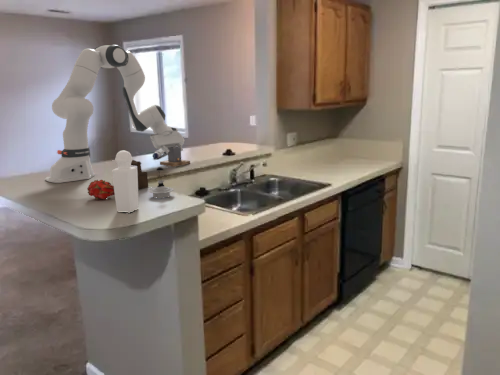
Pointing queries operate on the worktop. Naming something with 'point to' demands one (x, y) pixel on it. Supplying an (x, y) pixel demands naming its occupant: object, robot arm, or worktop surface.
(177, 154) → the dark grey box
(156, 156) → the grey dark-ended cylinder
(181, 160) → the post plate
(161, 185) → the grey knobbed stem base
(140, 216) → the worktop surface
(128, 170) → the white bottle
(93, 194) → the dragon fruit
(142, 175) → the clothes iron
